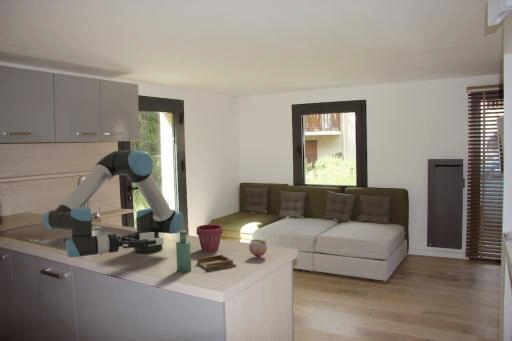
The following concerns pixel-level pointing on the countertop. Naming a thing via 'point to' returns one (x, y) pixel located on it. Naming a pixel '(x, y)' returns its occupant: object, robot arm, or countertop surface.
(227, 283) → the countertop surface
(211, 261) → the u rest
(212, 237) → the plant pot
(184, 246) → the green bottle
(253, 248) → the decorative fruit
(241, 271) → the countertop surface
